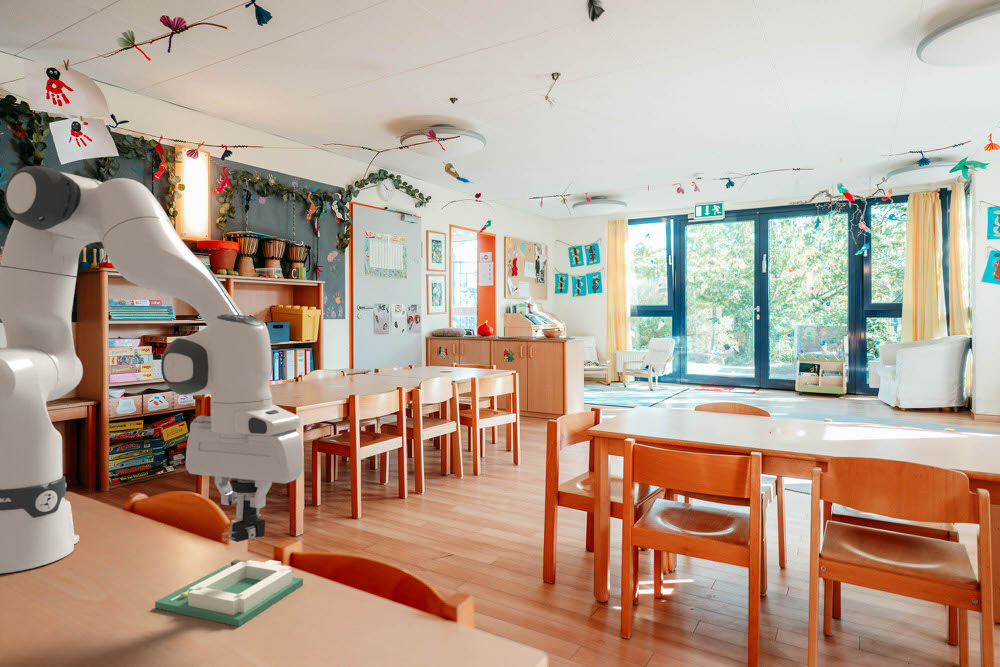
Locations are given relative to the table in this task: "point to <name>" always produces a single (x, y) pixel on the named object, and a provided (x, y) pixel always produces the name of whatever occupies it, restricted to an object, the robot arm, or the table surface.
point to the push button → (245, 513)
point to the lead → (236, 562)
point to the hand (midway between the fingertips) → (243, 505)
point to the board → (233, 592)
